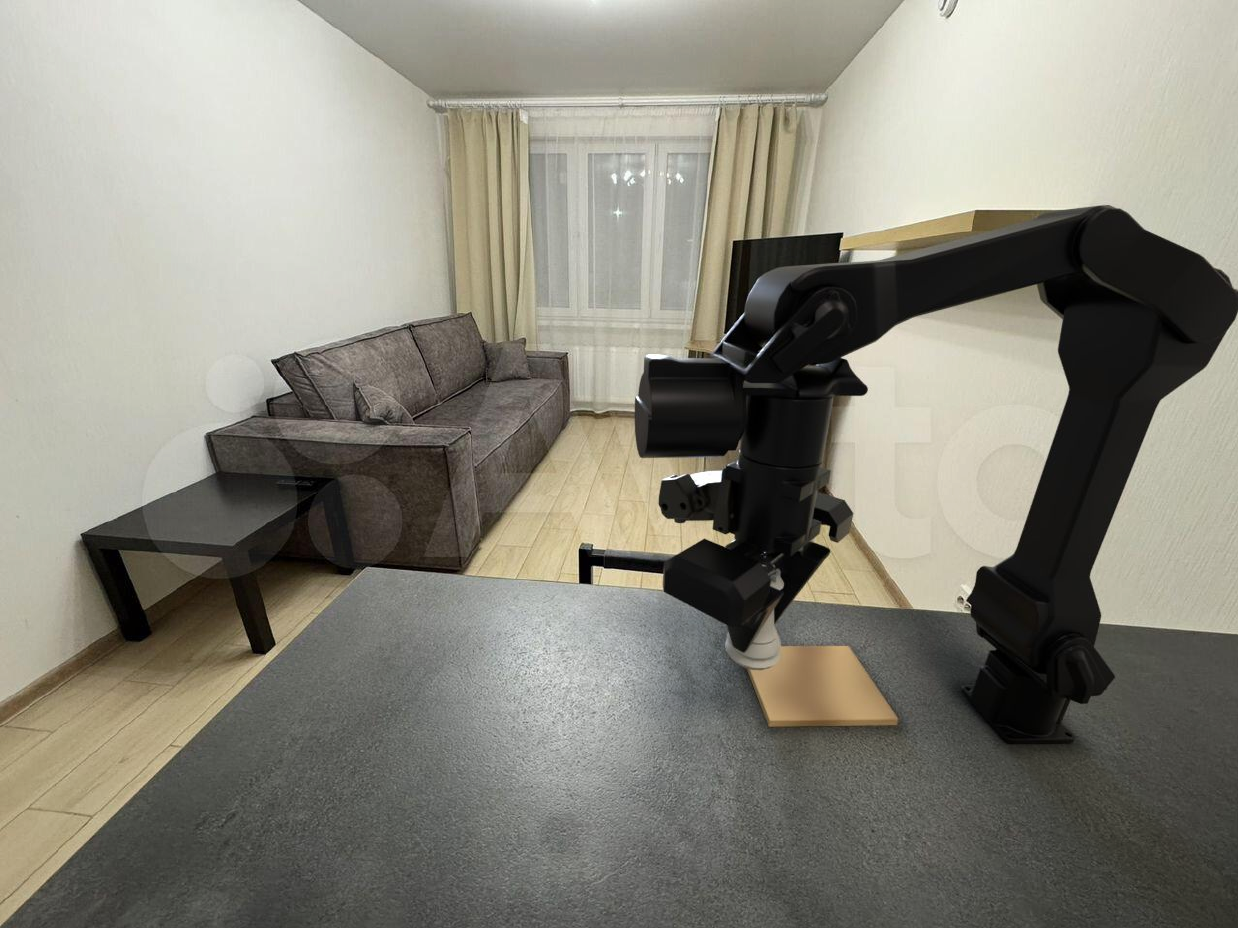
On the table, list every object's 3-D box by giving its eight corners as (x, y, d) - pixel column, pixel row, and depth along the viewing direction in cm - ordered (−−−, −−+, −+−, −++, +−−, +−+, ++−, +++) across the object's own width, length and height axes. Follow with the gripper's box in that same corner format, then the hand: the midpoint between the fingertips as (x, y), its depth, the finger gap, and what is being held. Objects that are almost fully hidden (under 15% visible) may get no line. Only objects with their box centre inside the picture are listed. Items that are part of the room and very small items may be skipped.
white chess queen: (791, 660, 42) (806, 575, 40) (752, 681, 40) (765, 592, 37) (750, 629, 46) (762, 549, 43) (712, 647, 44) (722, 564, 41)
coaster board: (847, 651, 57) (848, 645, 57) (897, 725, 48) (898, 718, 48) (739, 651, 57) (740, 645, 56) (768, 727, 47) (769, 720, 47)
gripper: (747, 411, 49) (730, 557, 54) (607, 455, 36) (603, 642, 41) (871, 438, 42) (837, 603, 47) (752, 505, 29) (724, 723, 34)
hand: (754, 635), depth 42 cm, fingers closed on white chess queen, 4 cm apart
